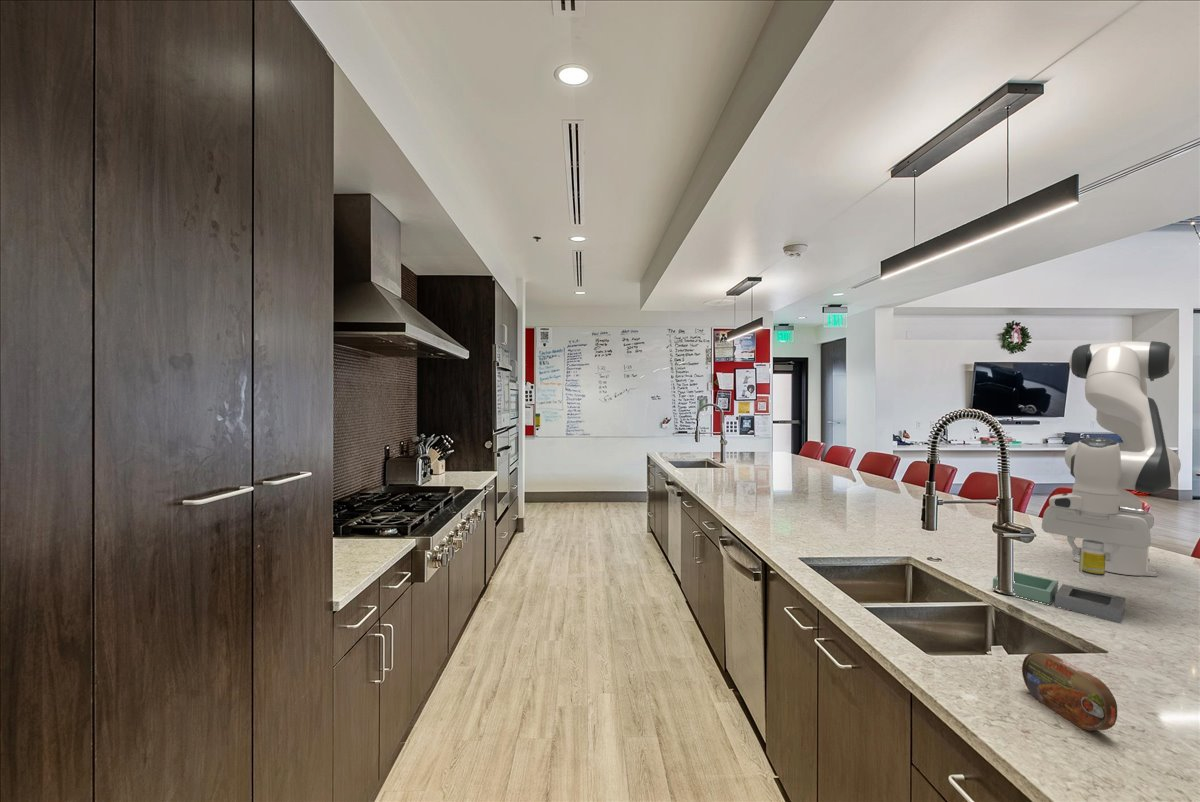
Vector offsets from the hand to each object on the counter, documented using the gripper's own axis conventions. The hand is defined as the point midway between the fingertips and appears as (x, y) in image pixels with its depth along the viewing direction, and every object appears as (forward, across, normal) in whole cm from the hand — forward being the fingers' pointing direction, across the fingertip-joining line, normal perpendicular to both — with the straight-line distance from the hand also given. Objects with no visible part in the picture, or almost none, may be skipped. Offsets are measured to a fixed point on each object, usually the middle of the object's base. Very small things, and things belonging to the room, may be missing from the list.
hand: (1092, 557), depth 136 cm
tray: (+13, +13, 0) cm, 18 cm away
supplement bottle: (+5, 0, 0) cm, 5 cm away
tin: (+12, -3, +64) cm, 65 cm away
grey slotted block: (+13, 0, 0) cm, 13 cm away
